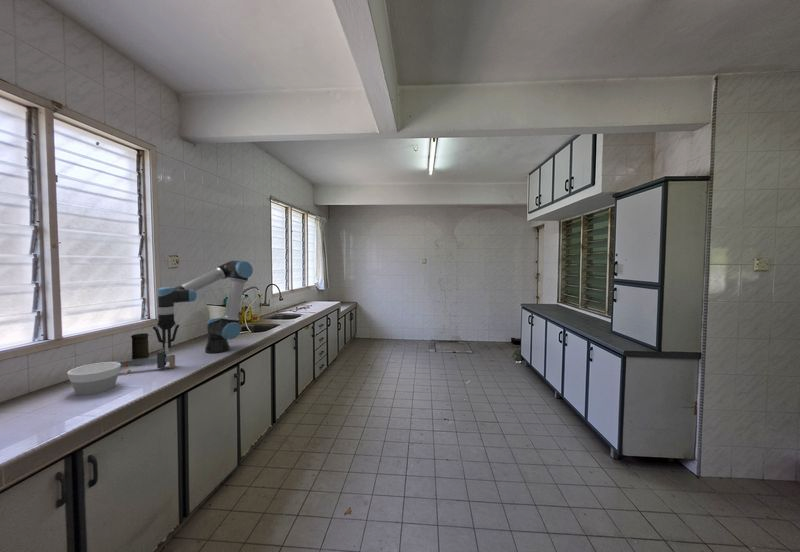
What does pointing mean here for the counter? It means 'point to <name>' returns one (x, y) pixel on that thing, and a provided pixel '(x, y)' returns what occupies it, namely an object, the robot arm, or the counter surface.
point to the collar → (161, 358)
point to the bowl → (94, 377)
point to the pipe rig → (146, 362)
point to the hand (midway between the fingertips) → (167, 353)
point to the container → (140, 346)
